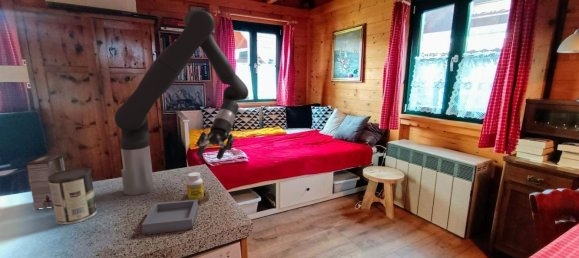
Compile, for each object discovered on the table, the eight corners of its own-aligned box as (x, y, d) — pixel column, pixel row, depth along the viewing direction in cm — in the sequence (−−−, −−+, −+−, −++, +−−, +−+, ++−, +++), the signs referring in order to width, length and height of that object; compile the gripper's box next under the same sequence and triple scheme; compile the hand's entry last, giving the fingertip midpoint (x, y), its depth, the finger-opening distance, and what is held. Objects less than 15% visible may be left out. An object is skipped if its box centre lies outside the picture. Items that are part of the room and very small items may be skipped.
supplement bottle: (201, 195, 98) (199, 170, 96) (205, 200, 93) (204, 174, 92) (186, 198, 95) (184, 173, 93) (190, 204, 91) (187, 177, 89)
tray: (142, 234, 73) (141, 224, 73) (155, 211, 86) (155, 203, 85) (192, 229, 76) (191, 219, 75) (198, 207, 88) (197, 199, 88)
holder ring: (180, 206, 89) (180, 202, 89) (185, 195, 97) (184, 191, 97) (207, 203, 91) (207, 199, 91) (209, 193, 99) (209, 189, 99)
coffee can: (82, 206, 90) (76, 166, 87) (105, 211, 86) (99, 169, 84) (47, 221, 80) (38, 177, 78) (70, 227, 77) (62, 181, 74)
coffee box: (50, 198, 96) (42, 155, 93) (71, 196, 97) (64, 154, 94) (34, 210, 87) (24, 163, 84) (57, 208, 89) (49, 161, 86)
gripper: (204, 116, 108) (187, 151, 99) (235, 117, 104) (220, 154, 95) (212, 127, 114) (197, 160, 105) (242, 128, 109) (229, 164, 101)
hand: (208, 157), depth 100 cm, fingers open, 8 cm apart
